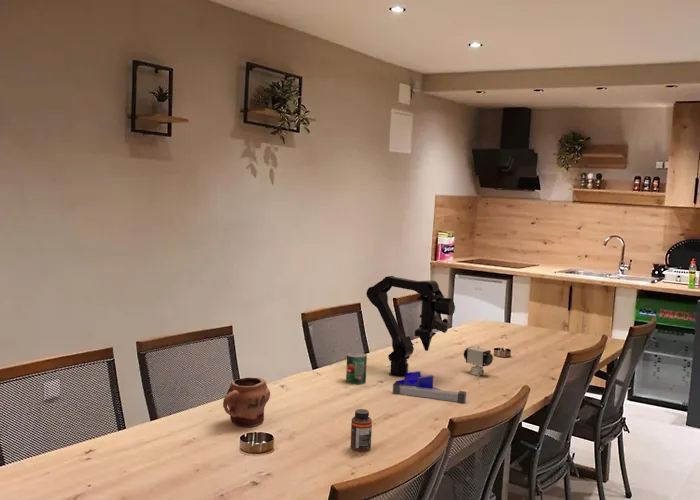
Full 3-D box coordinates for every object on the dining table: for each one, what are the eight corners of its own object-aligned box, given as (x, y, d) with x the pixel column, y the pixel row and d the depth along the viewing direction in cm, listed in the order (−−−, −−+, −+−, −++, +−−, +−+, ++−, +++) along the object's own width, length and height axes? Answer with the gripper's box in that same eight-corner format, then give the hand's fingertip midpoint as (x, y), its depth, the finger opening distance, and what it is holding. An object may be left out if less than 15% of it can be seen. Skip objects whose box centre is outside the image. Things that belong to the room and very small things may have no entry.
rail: (392, 393, 259) (393, 384, 259) (395, 391, 262) (395, 382, 262) (464, 403, 250) (464, 393, 250) (465, 401, 253) (466, 391, 253)
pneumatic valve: (485, 378, 286) (487, 349, 285) (462, 372, 294) (463, 344, 293) (493, 376, 290) (494, 348, 289) (469, 370, 298) (471, 343, 297)
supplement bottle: (349, 445, 205) (351, 407, 204) (369, 445, 205) (371, 407, 204) (351, 452, 199) (352, 414, 198) (371, 452, 199) (373, 414, 198)
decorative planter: (242, 437, 208) (243, 391, 206) (209, 429, 213) (210, 385, 212) (278, 419, 226) (279, 377, 224) (247, 412, 231) (248, 371, 230)
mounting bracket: (441, 394, 262) (442, 379, 261) (427, 397, 258) (428, 381, 257) (409, 383, 276) (409, 368, 276) (395, 385, 272) (396, 370, 271)
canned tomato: (370, 382, 274) (371, 354, 273) (356, 385, 268) (357, 357, 267) (355, 378, 279) (356, 351, 278) (341, 381, 273) (342, 354, 272)
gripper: (443, 317, 267) (441, 357, 268) (453, 310, 284) (451, 348, 285) (415, 315, 270) (413, 354, 272) (426, 308, 288) (424, 345, 289)
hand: (426, 350), depth 279 cm, fingers closed
